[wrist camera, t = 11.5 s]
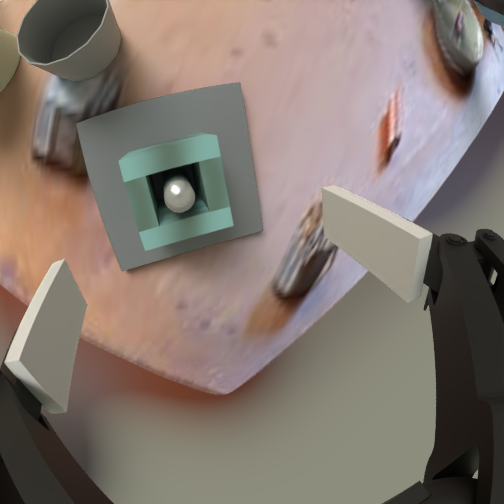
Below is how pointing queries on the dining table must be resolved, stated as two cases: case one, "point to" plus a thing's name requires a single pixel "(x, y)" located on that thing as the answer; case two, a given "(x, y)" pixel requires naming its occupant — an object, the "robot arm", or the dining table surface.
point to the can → (8, 57)
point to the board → (153, 132)
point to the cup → (69, 37)
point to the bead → (157, 213)
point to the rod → (177, 190)
